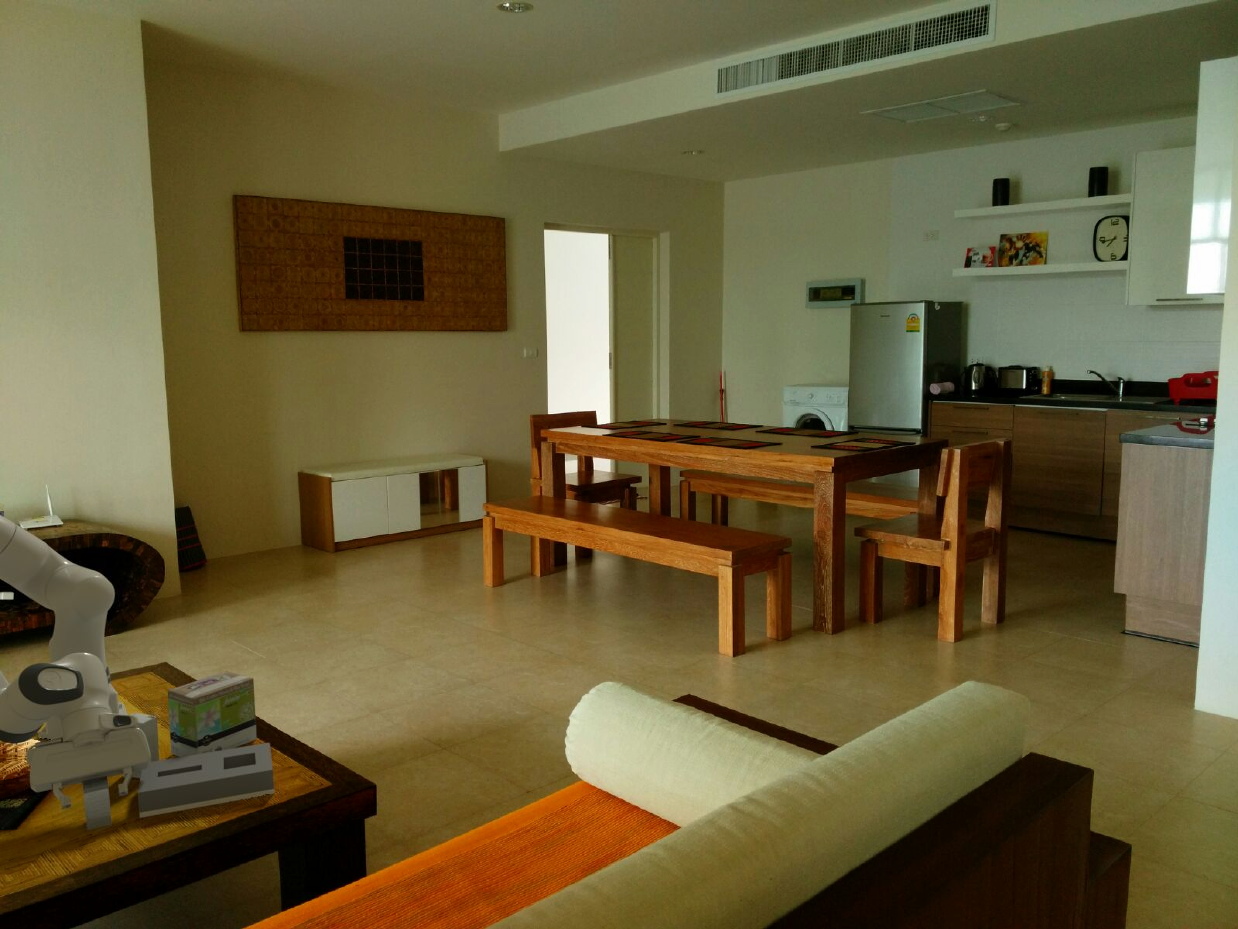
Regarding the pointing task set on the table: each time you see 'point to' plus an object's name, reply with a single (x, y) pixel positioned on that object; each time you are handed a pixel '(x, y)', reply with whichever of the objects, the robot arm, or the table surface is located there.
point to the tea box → (212, 714)
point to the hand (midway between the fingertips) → (95, 800)
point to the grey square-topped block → (97, 802)
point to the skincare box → (148, 737)
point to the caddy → (205, 779)
